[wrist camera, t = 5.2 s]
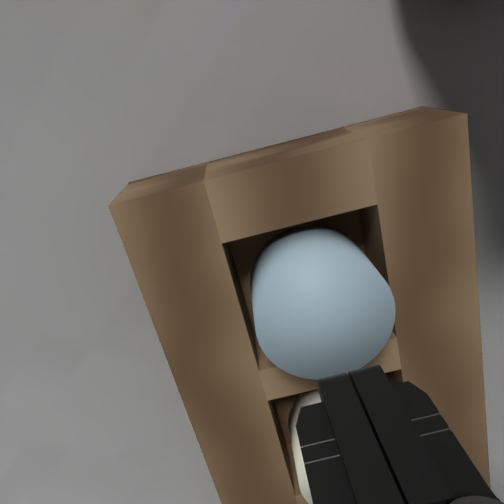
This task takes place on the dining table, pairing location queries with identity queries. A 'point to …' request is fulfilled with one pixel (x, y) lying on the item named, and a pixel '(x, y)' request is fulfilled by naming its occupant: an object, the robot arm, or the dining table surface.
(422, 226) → the wooden slotted tray
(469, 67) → the dining table surface
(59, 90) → the dining table surface
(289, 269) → the slate button
